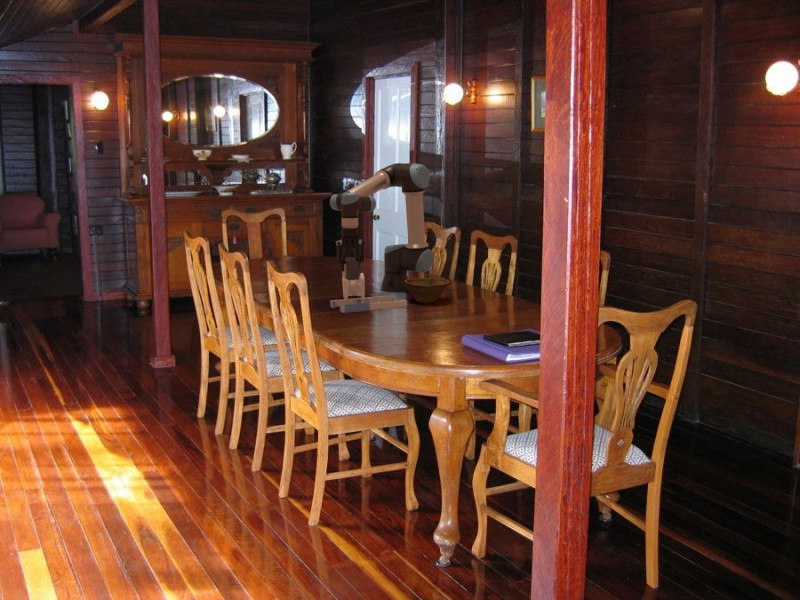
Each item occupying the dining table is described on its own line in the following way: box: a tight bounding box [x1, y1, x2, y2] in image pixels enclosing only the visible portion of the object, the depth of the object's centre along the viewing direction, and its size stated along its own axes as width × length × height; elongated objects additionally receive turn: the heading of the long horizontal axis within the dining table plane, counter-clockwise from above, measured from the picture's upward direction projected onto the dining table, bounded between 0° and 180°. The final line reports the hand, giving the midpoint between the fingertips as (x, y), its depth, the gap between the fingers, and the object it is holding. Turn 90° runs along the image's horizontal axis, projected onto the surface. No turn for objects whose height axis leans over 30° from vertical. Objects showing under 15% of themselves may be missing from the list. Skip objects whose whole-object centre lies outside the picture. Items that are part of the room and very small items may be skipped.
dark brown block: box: [341, 259, 360, 280], centre depth 421 cm, size 5×9×8 cm, turn 26°
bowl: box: [405, 277, 450, 304], centre depth 441 cm, size 22×23×10 cm
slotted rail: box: [329, 294, 408, 314], centre depth 428 cm, size 32×16×4 cm, turn 115°
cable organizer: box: [341, 272, 366, 299], centre depth 449 cm, size 15×11×12 cm
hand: (350, 277), depth 422 cm, fingers closed on dark brown block, 5 cm apart
